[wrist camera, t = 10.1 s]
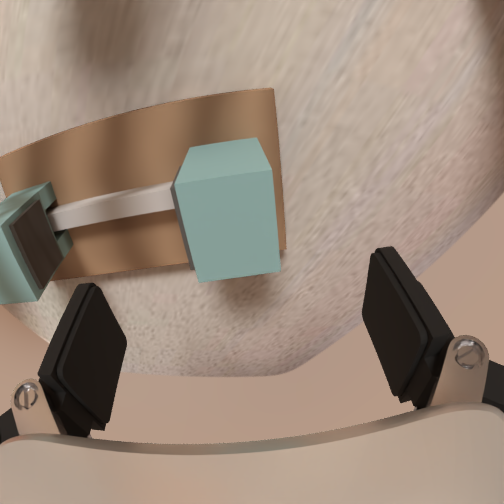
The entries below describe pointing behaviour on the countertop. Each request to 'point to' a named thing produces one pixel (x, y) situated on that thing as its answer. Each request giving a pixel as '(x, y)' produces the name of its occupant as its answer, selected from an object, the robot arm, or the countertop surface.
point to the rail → (116, 189)
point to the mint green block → (227, 210)
